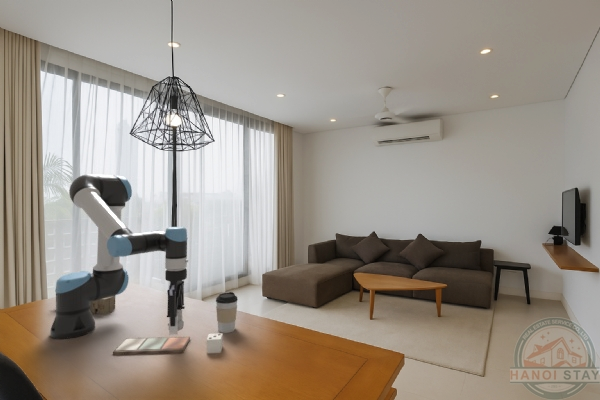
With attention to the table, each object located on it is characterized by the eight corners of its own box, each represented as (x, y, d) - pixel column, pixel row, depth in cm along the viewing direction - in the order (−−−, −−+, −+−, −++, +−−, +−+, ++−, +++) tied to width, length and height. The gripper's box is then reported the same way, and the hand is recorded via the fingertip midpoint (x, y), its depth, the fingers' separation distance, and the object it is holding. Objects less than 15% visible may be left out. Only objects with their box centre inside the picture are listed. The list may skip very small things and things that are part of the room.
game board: (112, 354, 115) (112, 351, 115) (126, 340, 126) (126, 337, 126) (182, 352, 117) (182, 349, 117) (190, 339, 128) (190, 336, 128)
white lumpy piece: (187, 329, 124) (187, 308, 124) (173, 335, 118) (173, 313, 118) (177, 326, 126) (177, 305, 126) (163, 332, 120) (163, 310, 121)
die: (206, 353, 117) (206, 339, 117) (208, 347, 122) (208, 333, 122) (220, 352, 118) (220, 339, 118) (222, 346, 123) (222, 333, 123)
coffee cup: (226, 335, 132) (226, 298, 132) (210, 330, 137) (211, 294, 136) (241, 328, 139) (242, 293, 139) (226, 323, 144) (226, 289, 144)
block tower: (117, 311, 160) (72, 303, 168) (118, 294, 160) (72, 287, 168) (103, 317, 152) (56, 308, 160) (104, 299, 152) (57, 291, 160)
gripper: (179, 274, 113) (179, 341, 113) (192, 263, 132) (192, 320, 132) (157, 274, 112) (157, 341, 113) (173, 263, 131) (172, 321, 131)
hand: (176, 330), depth 122 cm, fingers closed on white lumpy piece, 6 cm apart
